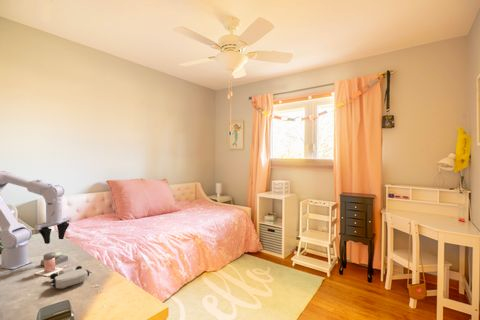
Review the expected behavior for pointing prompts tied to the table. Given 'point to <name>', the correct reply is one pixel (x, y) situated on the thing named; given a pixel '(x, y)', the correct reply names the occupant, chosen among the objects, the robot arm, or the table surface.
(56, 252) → the button
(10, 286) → the table surface
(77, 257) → the table surface
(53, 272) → the cream rectangular plate
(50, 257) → the marker
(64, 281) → the robot toy
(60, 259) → the button housing
